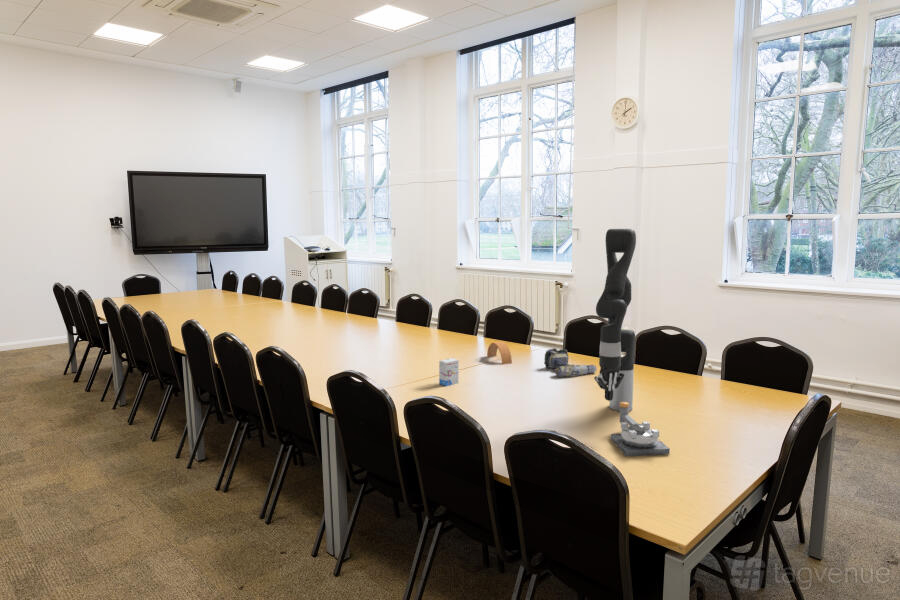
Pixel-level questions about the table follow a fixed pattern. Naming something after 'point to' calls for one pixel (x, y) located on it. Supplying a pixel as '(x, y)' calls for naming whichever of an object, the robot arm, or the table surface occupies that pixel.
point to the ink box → (448, 371)
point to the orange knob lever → (636, 430)
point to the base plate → (639, 448)
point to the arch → (503, 351)
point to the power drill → (565, 364)
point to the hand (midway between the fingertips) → (608, 399)
